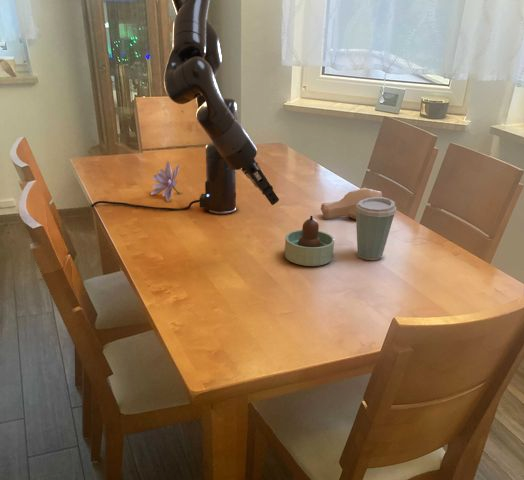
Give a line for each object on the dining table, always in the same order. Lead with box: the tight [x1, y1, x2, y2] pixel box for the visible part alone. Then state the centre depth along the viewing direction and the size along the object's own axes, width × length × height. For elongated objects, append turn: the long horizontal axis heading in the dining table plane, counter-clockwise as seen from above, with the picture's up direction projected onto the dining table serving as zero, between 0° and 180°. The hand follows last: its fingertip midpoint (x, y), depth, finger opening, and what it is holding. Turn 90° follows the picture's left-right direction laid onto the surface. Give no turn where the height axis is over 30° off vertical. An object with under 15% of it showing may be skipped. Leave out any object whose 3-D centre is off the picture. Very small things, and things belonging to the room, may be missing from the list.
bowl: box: [284, 229, 335, 267], centre depth 145 cm, size 13×13×6 cm
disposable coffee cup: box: [355, 196, 397, 261], centre depth 144 cm, size 11×11×15 cm
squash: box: [320, 186, 383, 220], centre depth 172 cm, size 11×20×9 cm, turn 100°
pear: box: [298, 215, 321, 247], centre depth 143 cm, size 6×6×11 cm
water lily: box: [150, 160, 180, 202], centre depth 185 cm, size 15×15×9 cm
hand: (270, 195), depth 135 cm, fingers open, 8 cm apart
